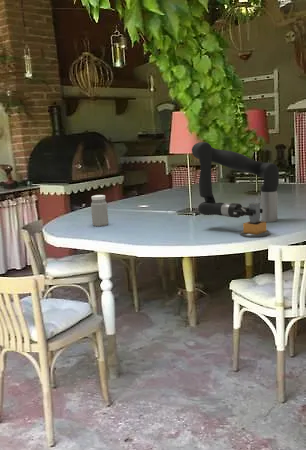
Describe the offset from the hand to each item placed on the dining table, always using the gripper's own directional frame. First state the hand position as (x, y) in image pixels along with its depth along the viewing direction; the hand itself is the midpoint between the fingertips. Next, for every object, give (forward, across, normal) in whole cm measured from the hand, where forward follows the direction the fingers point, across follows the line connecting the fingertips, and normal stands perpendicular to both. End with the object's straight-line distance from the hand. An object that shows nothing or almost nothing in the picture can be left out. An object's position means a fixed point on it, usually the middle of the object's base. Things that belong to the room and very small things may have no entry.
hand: (257, 212), depth 271 cm
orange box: (-2, 0, +12) cm, 12 cm away
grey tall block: (-2, 0, +10) cm, 11 cm away
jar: (-98, -23, +12) cm, 101 cm away
